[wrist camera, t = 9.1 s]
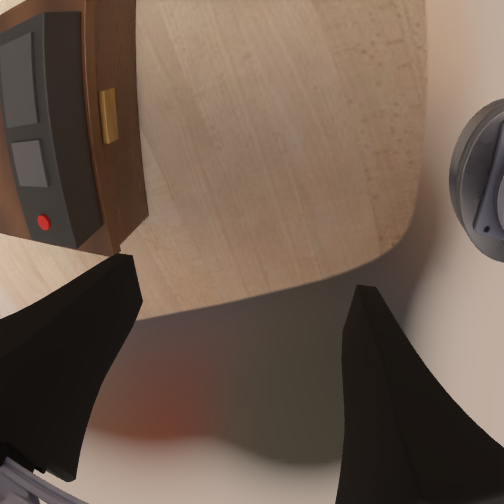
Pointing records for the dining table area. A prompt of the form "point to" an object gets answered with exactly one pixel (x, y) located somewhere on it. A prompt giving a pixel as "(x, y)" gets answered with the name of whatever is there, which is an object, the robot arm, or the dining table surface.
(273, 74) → the dining table surface
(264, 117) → the dining table surface
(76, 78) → the remote
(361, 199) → the dining table surface
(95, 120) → the box
